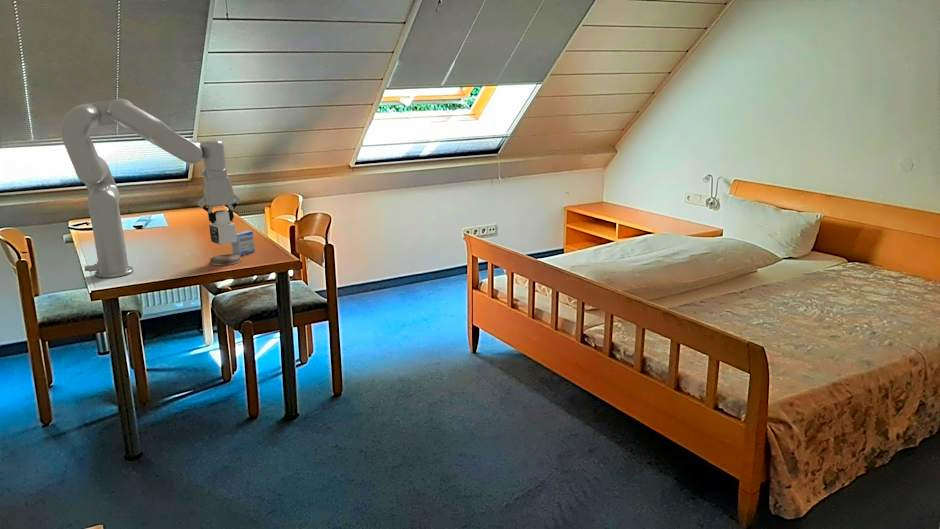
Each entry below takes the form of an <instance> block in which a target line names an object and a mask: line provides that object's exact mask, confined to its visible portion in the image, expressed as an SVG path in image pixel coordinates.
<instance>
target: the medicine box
mask: <svg viewBox="0 0 940 529" xmlns="http://www.w3.org/2000/svg"><path fill="white" fill-rule="evenodd" d="M254 237H255V236H254V232H253V230H243V231H240V232H239V231H238V232H236V238H237V242H233V243H231V250H232V251H231V252H232V254H236V255H240V257H242V256H241V255H243V256H245V255H244V254H246V255H249V254H252V253H251V252H253V253H255V252H256V250H255V240H254V239H255V238H254ZM254 251H255V252H254ZM248 253H249V254H248Z"/></svg>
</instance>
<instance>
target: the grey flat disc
mask: <svg viewBox="0 0 940 529" xmlns="http://www.w3.org/2000/svg"><path fill="white" fill-rule="evenodd" d="M242 259H243V258H242V256H240V255H236V254H233V253H229V254H227V253H226V254H219V255H215V256H212V257H211V258H210V261H209V265H211V266H215V265H217V266H216V267H218V266H220V267H221V265H225V266H231V265H232V264H233V265H235V264H236V263H237V264H239V263H241V262H242V261H243V260H242ZM241 260H242V261H241ZM240 261H241V262H240ZM238 262H239V263H238Z"/></svg>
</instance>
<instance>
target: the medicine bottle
mask: <svg viewBox="0 0 940 529" xmlns="http://www.w3.org/2000/svg"><path fill="white" fill-rule="evenodd" d="M212 213H213V216H214V223H213V224H212V223H209V224H208V225H209V234H210V242H211V243H213V244H216V245H218V246H221V245H226V244H232V243H233V242H237V238H236V233H237V231H236V230H237V229H236V224H235V223H233V222H231V221H230V215H229V212H228V210H224V209H223V210H215V211H214V212H213V211H212Z"/></svg>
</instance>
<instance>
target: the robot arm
mask: <svg viewBox="0 0 940 529" xmlns="http://www.w3.org/2000/svg"><path fill="white" fill-rule="evenodd" d="M113 125H119V126H121V127H123V128H125V129H126V130H128V131H129V132H132V133H134V134H135V135H137V136H138V137H141V138H142V139H144V140H146V141H148V142H149V143H151V144H152V145H154V146H156V147H158V148H160V149H162V150H163V151H165V153H168V154H170V155H172V156H173V157H175V158H176V159H179V160H181V161H182V162H185V163H187V164H189V165H194V164H197V163H199V162H200V161H202V160H203V165H204V167H203V168H204V171H203V172H201V173H200V174H201V177H205V178H204V179H203V196H202V198H201V199H200V200H199V201H198V203H197V205H198V206H199V207H200V208H201V209H202V210H204V211H206V212H207V215H208V221H209V222H210V224H213V223H214V216H213V208H214V207H216V206H227V207H228V209H227V211H228V212H229V215H230V222H234V221H233V220H234V219H235V216H234V210H235V208H236V207H237V206H238V205H239V203H240V202H241V200H242V199H241V198H239V197H238V195H236V194H235V193H234V191H233V190H234V189H233V185H232V180H231V178H230V177H229V176H228V172H227V163H226V156H225V155H226V154H225V146H224V143H223V141H221V140H216V139H213V140H204V141H201V140H200V141H199V140H198V141H197V140H189V139H188V138H186V137H184V136H182V135H181V134H179V133H178V132H176V131H174V130H173V129H172V128H170V127H169V126H168V125H167V124H165V122H163V121H162V120H160V119H159V118H157V117H155V116H153V115H152V114H150V113H148V112H147V111H145V110H143V109H141V108H140V107H138V106H136V105H134V104H133V103H132V102H131V101H130V100H128V99H125V98H116V99H110V100H102V101H96V102H90V103H89V102H88V103H82V104H79V105H76V106H74V107H73V108H71V109H70V110H69V111H68V112H67V113H66V115H65V116H64V117H63V119H62V121H61V123H60V135H61V140H62V142H63V145H64V147H65V150H66V152H67V154H68V157H69V159H70V161H71V165H72V166H73V169H74V171H75V174H76V177H77V178H78V179H79V181H81V182H82V183H84V185H85V187H86V189H87V191H88V194H89V195H88V196H87V208H88V209H87V210H88V212H89V217H90V222H91V227H92V233H93V238H94V244H95V245H94V246H95V250H96V256H97V258H96V259H97V261H96V263H94V264H92V265H84V266H83V267H84V272H94V274H95V276H96V277H98V278H101V277H102V278H103V279H104V278H109V279H110V278H118V277H123V276H127V275H131V274H132V273H133V272H134V271H135V270H134V267H133V266H132V265H129V261H128V254H127V248H126V241H125V234H124V228H123V221H122V218H121V211H120V204H119V203H120V201H121V193H120V191H119V189H118V186H117V184H116V182H115V179H114V177H113V175H112V172H111V170H110V167H109V165H108V163H107V162H106V160H105V159H103V158H102V157H100V156H99V154H98V152H97V150H96V147H95V145H94V143H93V141H92V138H91V136H90V131H91V130H92V129H94V128H99V127H107V126H113ZM204 203H205V204H206V205H207V206H206V205H204Z"/></svg>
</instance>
